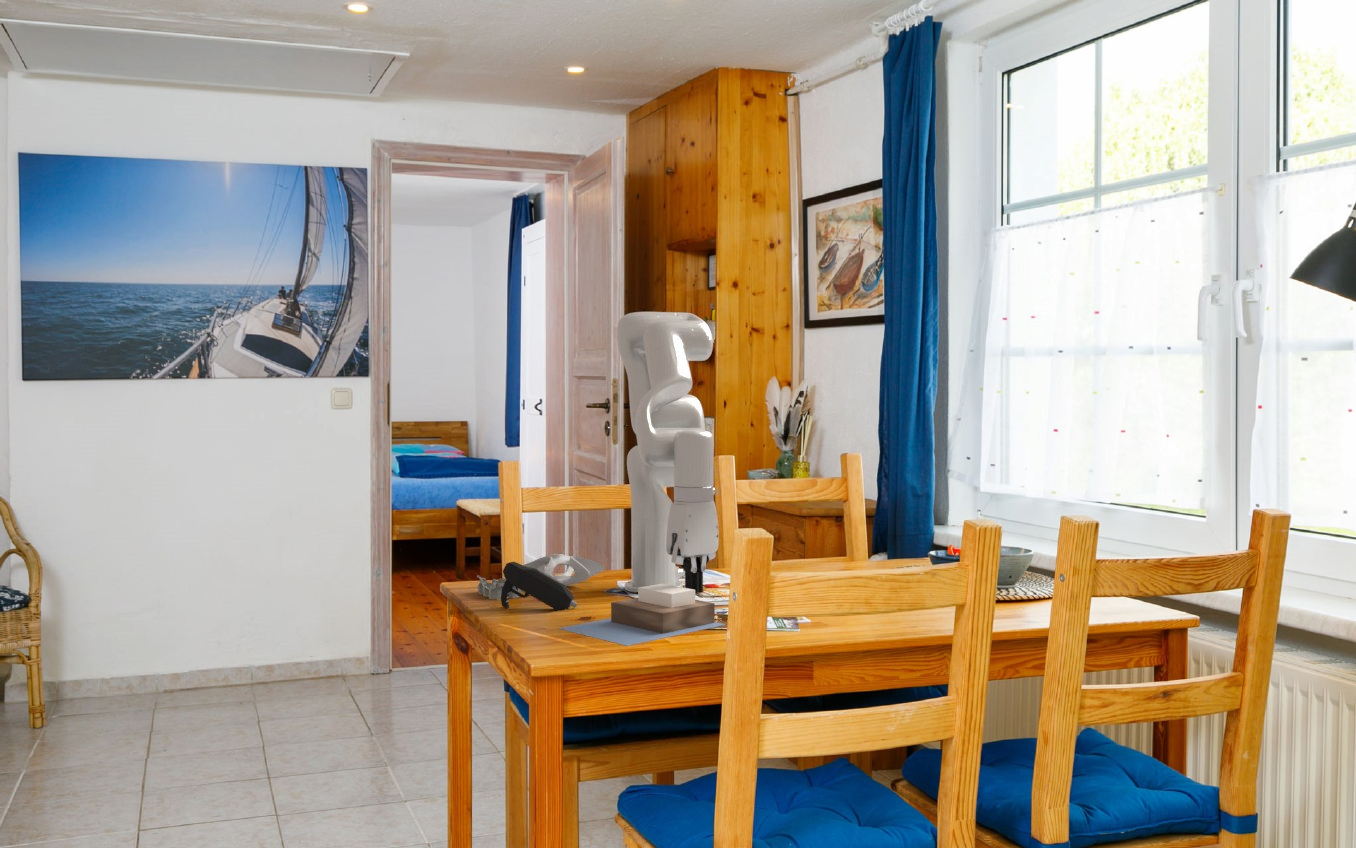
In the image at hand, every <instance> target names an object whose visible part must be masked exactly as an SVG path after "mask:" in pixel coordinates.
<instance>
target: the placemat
mask: <svg viewBox="0 0 1356 848" xmlns="http://www.w3.org/2000/svg"><path fill="white" fill-rule="evenodd" d="M726 625H727V624H725V623H722V622H716V621H715V623H711V624H706V625H702V626H697V627H692V628H688V629H683V630H678V631H673V632H669V633H664V634H662V633H658V632H653V631H649V630H645V629H640V628H636V627H632V626H627V625H623V624H619V623H615V622H611V617H610V618H604V619H599V620H594V621H589V622H584V623H577V624H574V625H567V626H564V627H562V626H561V627H558V628H557V629H558V630H561V631H567V632H570V633H574V634H578V635H582V636H586V637H590V638H594V639H597V640H602V641H604V642H610V643H614V644H618V645H622V646H626V647H629V646H630V647H631V646H633V645H638V644H643V643H649V642H653V641H657V640H662V639H666V638H672V637H675V636H680V635H686V634H689V633H695V632H699V631H704V630H708V629H713V628H718V627H723V626H726Z"/></svg>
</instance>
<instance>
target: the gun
mask: <svg viewBox="0 0 1356 848" xmlns="http://www.w3.org/2000/svg"><path fill="white" fill-rule="evenodd" d="M523 565H524V564H520V563H518V562H516V561H511V562H510V561H509V562H506V563H505V566H504V568H503V569H502V573H503V578H506V581H505V583H504V586H503V588H502V593H501V600H500V602H501V606H502V607H503V608H505V609H509V608H510V605H509V599H510V598H508V597H509V593H510V592H513V593H514V594H516V595H518V596H520V597H519V598H527V597H530V596H531V597H533V598H534V599H536V600H538V601H539V602H541V603H543V604H544V605H547V606H548V607H550V608H552V609H554V610H555V611H557V612H559V611H566V610H569V609H570V608H571V607H572V608H574V609H575V608H576V607H577V605H578V602H576V601H575V600H574V599H575V596H574V595H573V593H572V591H571V590H570V589H569V588H568V587H567V586H565V585H563V584H562V583H560V582H561V581H559V580H557V579H555V578H554V577H552V576H550V575H548V574H547V573H545V572H543V571H541V570H540V569H539V570H537V569H535V568H530V567H525V566H523ZM513 586H515V587H516V590H517V591H516V590H514V589H512V588H513ZM518 588H519V589H520V590H521V593H519V592H518ZM522 592H524V594H523V593H522Z"/></svg>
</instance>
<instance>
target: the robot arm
mask: <svg viewBox="0 0 1356 848" xmlns="http://www.w3.org/2000/svg"><path fill="white" fill-rule="evenodd" d="M616 341H617V348H618V351H619V355H620V358H621V361H622V363H623V365H624V369H625V371H626V375H627V382H628V396H629V413H630V422H631V428H632V430H633V432H634V434H635V436H636V443H637V445H635V446H633V447H632V448H631V449H630V450H629V451H628V454H627V455H626V467H627V468H626V470H627V476H628V481H629V487H630V488H629V489H630V503H631V504H630V505H631V506H630V507H631V508H630V513H631V514H630V516H631V522H630V523H631V533H630V534H631V535H630V536H631V580H628V581H626V582H625V583H624V587H623V588H624V590H626V591H627V592H631V593H636V592H638V588H639V587H645V586H651V585H657V584H667V585H672V586H678V587H683V588H688V589H694V590H695V595H697V594H702V593H704V572H705V571H706V567H707V565H708V562H709V561H711V560H712V561H713V559H715V558H716V557H717V553H716V552H717V551H718V549H719V538H720V537H719V535H720V533H719V519H718V512H717V506H716V503H715V499H714V497H715V496H714V495H715V494H716V489H715V487H714V484H715V483H714V482H715V481H714V480H715V479H714V477H715V475H714V469H715V468H714V467H715V466H714V461H715V459H714V453H715V452H714V451H715V450H714V448H715V447H714V446H715V445H714V436H713V433H711V431H709V430H706V425H705V416H704V415H705V413H704V409H703V406H702V403H701V401H700V400H699V399H698V398H697V396H695V395H692V394H689V392H691V390H692V388H693V378H692V373H691V369H690V364H689V362H692V361H693V362H700V361H701V362H703V361H706V360H708V359H709V358H710V357H711V355H712V354H713V353H712V352H713V348H714V341H713V334H712V332H711V328H710V326H709V325H708V323H706V322H705V321H704V319H702V318H700V317H699V316H697V315H696V314H694V313H690V312H678V311H677V312H674V311H673V312H671V311H664V312H663V311H636V312H629V313H627V314H624V315H623V316H621V318H620V319H619V320H618V322H617V328H616ZM664 488H673V501H672V499H671V498H670V497H669V495H668V494H667V493H666V492H665V491H664ZM676 565H680V566H676ZM679 567H681V568H679ZM682 577H683V578H684V584H683V582H681V581H680V579H681V578H682ZM683 585H684V586H683Z"/></svg>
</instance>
